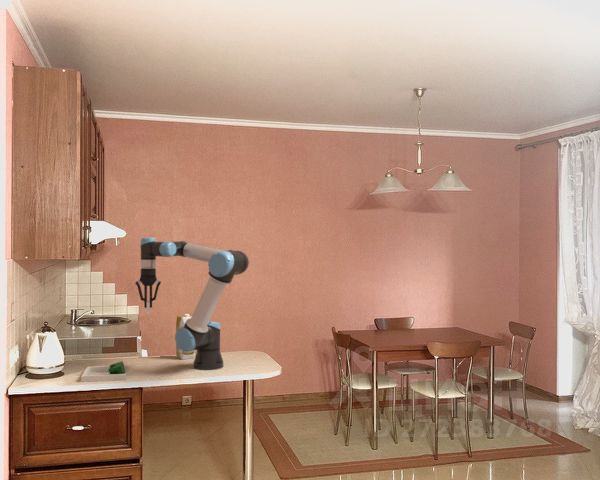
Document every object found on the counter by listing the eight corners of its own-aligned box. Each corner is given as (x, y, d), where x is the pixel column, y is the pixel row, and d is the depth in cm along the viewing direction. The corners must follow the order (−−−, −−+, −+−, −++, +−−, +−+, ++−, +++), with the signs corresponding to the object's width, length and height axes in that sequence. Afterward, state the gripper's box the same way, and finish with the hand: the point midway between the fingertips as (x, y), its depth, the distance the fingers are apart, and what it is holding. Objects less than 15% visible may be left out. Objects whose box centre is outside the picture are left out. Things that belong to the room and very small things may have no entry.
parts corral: (128, 370, 306) (128, 365, 306) (125, 379, 286) (125, 374, 286) (87, 371, 302) (87, 366, 302) (81, 381, 282) (81, 376, 282)
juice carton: (181, 360, 330) (181, 315, 330) (174, 357, 336) (174, 313, 336) (196, 358, 336) (196, 313, 335) (189, 355, 342) (189, 312, 342)
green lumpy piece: (114, 383, 297) (110, 365, 300) (127, 380, 298) (123, 361, 301) (109, 379, 286) (106, 360, 289) (122, 375, 287) (119, 357, 290)
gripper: (161, 267, 321) (161, 312, 321) (135, 267, 318) (135, 313, 318) (161, 268, 313) (161, 314, 314) (134, 268, 311) (134, 315, 311)
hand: (148, 314), depth 316 cm, fingers closed
